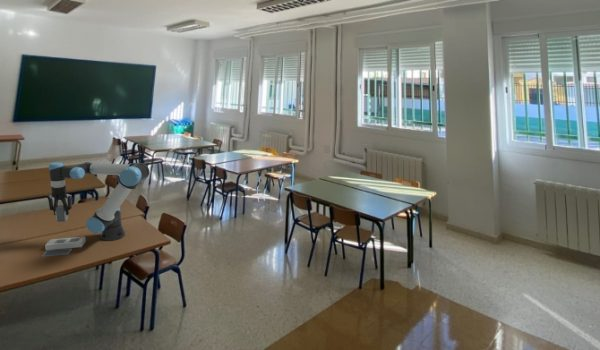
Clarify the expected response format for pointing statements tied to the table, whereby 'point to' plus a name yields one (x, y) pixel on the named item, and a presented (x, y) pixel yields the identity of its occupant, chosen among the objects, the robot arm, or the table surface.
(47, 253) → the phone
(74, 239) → the power strip
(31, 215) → the table surface
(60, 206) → the block
